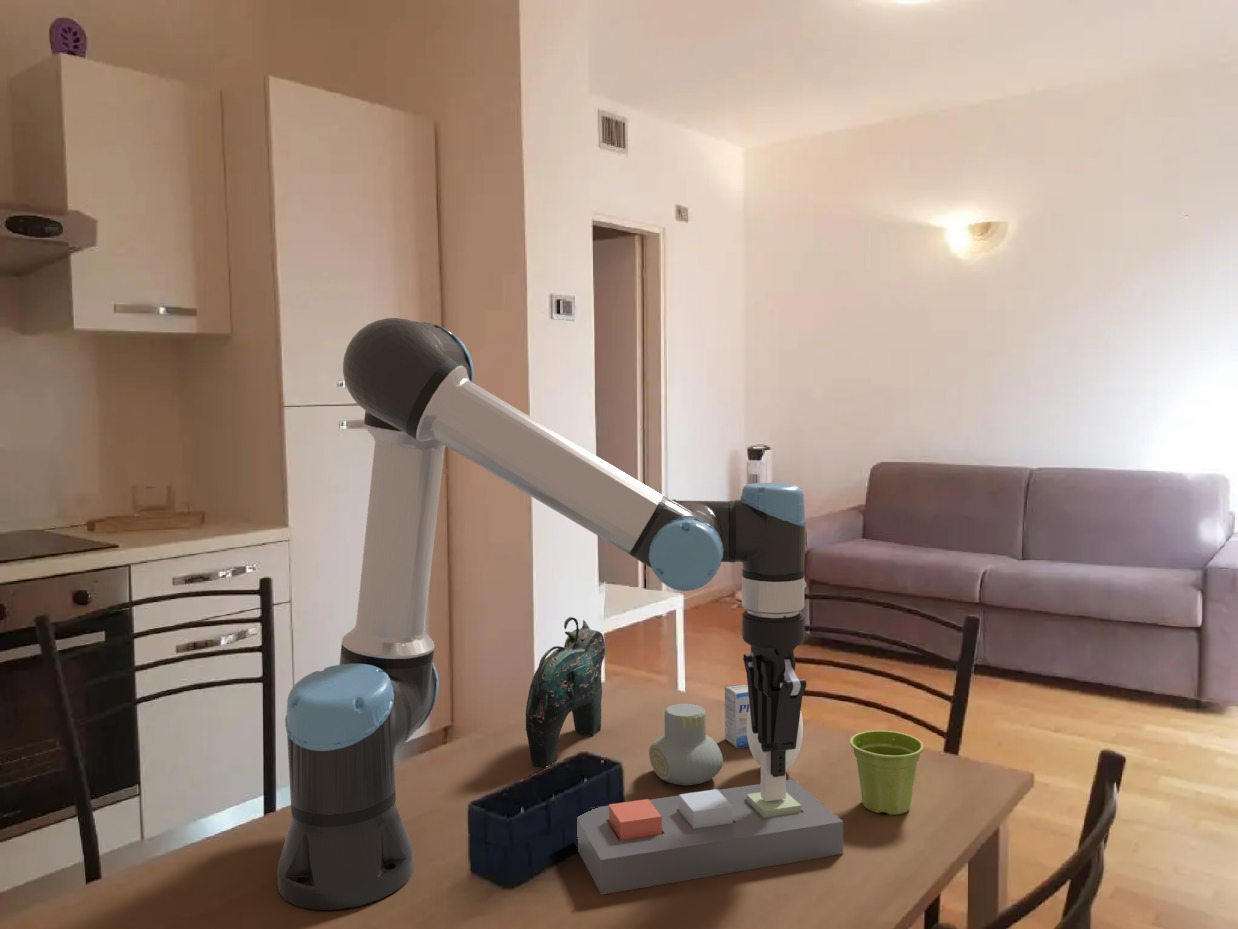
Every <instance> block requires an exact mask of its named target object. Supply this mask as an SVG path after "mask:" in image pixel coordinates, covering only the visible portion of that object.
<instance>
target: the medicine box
mask: <svg viewBox="0 0 1238 929" xmlns="http://www.w3.org/2000/svg"><path fill="white" fill-rule="evenodd" d="M749 706H750V704H749V694H748V684H743V685H732V686H725V687H724V738H725V739H726V741H728V742H729V744H731V745H733V746H734V747H735V748H736V749H740V748H748V747H749V744H748V739H747V716H748V710H749ZM749 748H750V747H749Z"/></svg>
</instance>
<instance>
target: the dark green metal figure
mask: <svg viewBox="0 0 1238 929" xmlns="http://www.w3.org/2000/svg"><path fill="white" fill-rule="evenodd" d="M571 621H573V622H574V623H575V625H576V626H575V628H576V629H574V630H572V631H564V633H565V635H567V637H566V639H565V642H564V646H560V645H556V646H555V645H554V646H553V647H551V648H549V649H548V650H547V651H545V653H544V654H542V657H541V658H540V661H539V663H538V667H537V669H536V670H535V673H534V674H533V677H532V678H531V679H532V680H531V683H530V686H529V690H528V697H527V701H526V706H525V731H526V737H527V743H528V746H529V754H530V755H529V756H530V764H531V765H532V766H533V765H534V766H533V767H538V766H539V767H540V768H543V767H546V766H549V765H552V763H554V762H555V763H557V760H558V747H559V740H560V734H561V731H562V729H563V726H564V724H565V720H566V719H567V716H568V715H569V714H570V713H572V719H573V725H574V731H575V733H576V734H578V735H582V736H591V737H593V736H594V735H595V733H596V734H597V733H598V732H599V731H601V728H602V696H603V685H602V683H603V682H602V666H603V662H604V659H605V657H606V656H605V655H606V644H605V637H604V634H603V633H602V632H601V631H598V630H595V629H594V630H593V629H591V628H590V627H589V625H588V624H587V622H586V621H585V620H584V619H583V620H582V625H581V626H582V627H581V628H579V621H578V620H577V618H576V617H574V616H573V617H572V616H569V617H568V618H566V619H565V620H564V623H563V628H564V629H565V630H566V629H567V627H568V625H569V622H571ZM555 763H554V764H555ZM552 766H553V765H552ZM539 767H538V768H539Z"/></svg>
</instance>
